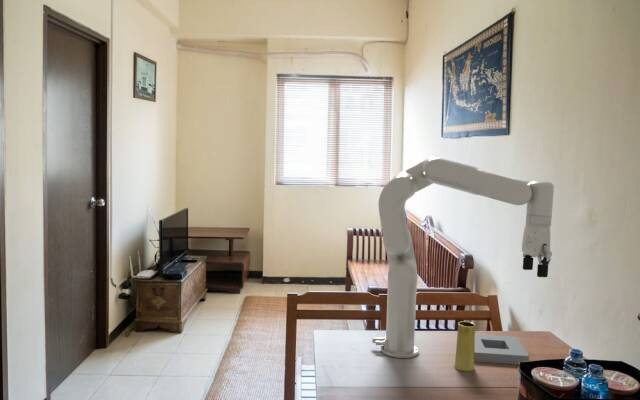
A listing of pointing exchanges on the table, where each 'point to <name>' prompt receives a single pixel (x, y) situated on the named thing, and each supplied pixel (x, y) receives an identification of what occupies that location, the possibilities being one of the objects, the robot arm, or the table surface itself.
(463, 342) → the vase
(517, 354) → the socket plate
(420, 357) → the table surface
